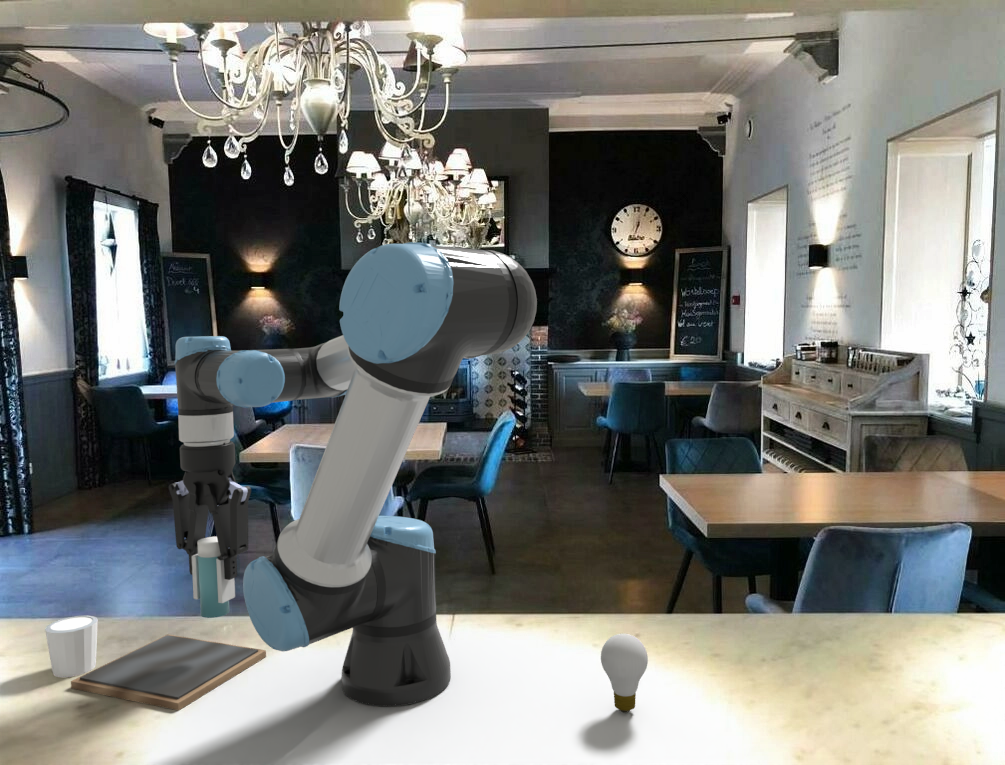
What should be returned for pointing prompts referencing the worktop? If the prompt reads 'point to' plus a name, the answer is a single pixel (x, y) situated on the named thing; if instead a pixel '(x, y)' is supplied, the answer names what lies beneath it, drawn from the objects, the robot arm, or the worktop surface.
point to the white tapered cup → (72, 645)
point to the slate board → (169, 671)
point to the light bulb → (624, 668)
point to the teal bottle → (209, 579)
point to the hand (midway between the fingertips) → (214, 597)
